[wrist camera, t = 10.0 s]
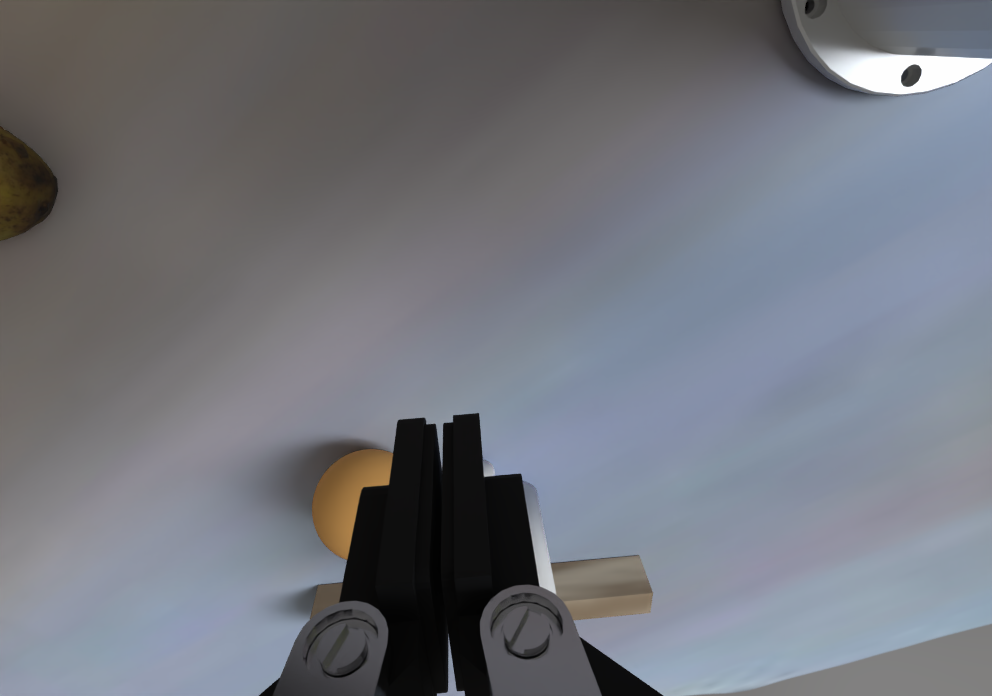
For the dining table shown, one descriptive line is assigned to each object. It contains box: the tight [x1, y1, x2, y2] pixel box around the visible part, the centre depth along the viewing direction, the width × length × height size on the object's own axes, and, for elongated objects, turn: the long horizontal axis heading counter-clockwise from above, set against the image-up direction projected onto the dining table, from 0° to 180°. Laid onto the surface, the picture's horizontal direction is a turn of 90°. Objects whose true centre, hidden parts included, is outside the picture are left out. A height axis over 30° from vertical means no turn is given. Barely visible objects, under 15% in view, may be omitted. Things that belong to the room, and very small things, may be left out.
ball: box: [312, 449, 393, 560], centre depth 31 cm, size 6×6×6 cm
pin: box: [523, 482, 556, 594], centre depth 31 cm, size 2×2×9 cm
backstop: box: [310, 555, 653, 620], centre depth 38 cm, size 2×22×3 cm, turn 93°
